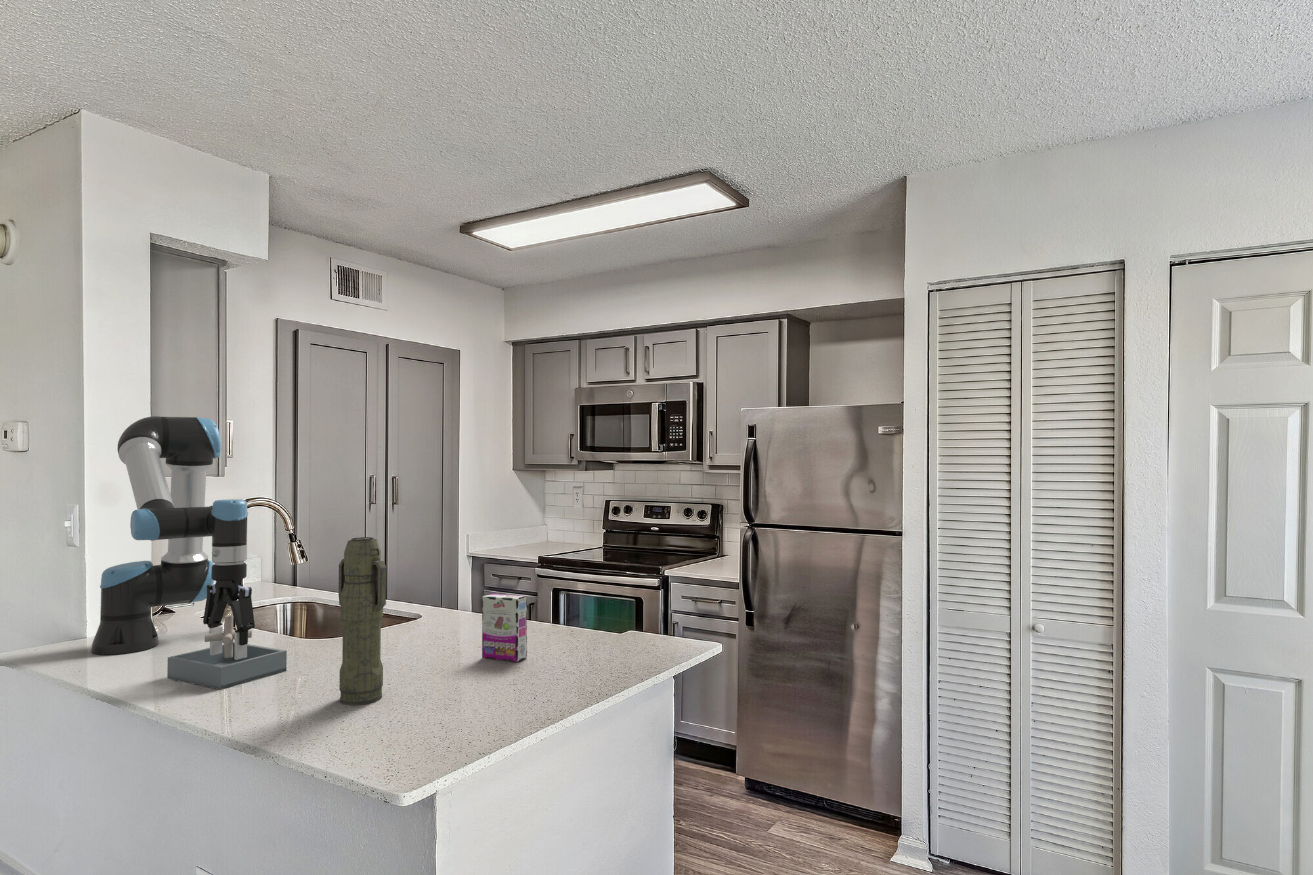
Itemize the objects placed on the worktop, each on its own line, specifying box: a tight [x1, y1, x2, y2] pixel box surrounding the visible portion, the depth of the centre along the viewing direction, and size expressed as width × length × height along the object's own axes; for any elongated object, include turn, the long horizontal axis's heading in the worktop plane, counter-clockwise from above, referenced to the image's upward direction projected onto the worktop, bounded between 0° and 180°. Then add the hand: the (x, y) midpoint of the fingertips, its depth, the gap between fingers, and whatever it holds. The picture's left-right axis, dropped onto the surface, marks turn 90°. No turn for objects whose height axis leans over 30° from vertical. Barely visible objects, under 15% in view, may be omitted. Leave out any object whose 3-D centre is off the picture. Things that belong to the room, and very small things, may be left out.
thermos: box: [338, 536, 388, 706], centre depth 168 cm, size 9×12×35 cm
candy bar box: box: [481, 593, 528, 663], centre depth 201 cm, size 11×5×16 cm, turn 68°
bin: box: [166, 641, 288, 690], centre depth 186 cm, size 20×17×5 cm
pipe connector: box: [204, 614, 253, 658], centre depth 186 cm, size 10×10×10 cm
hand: (228, 656), depth 186 cm, fingers closed on pipe connector, 9 cm apart
